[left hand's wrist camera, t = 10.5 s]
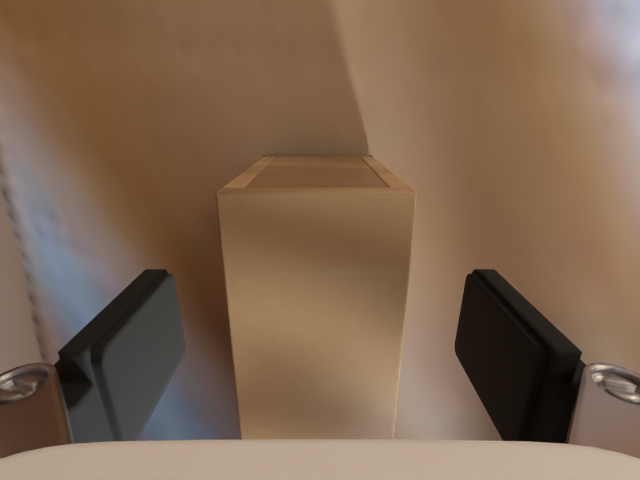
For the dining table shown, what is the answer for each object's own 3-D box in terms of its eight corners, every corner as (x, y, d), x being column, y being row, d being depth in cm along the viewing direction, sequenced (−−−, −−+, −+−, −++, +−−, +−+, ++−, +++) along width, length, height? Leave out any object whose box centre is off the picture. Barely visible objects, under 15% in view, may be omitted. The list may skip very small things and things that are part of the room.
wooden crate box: (358, 406, 28) (381, 572, 18) (277, 406, 28) (254, 572, 18) (371, 154, 21) (418, 191, 11) (264, 154, 21) (214, 191, 11)
